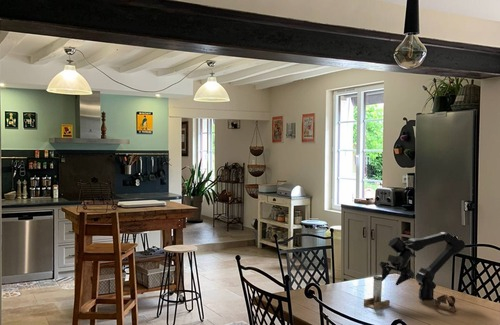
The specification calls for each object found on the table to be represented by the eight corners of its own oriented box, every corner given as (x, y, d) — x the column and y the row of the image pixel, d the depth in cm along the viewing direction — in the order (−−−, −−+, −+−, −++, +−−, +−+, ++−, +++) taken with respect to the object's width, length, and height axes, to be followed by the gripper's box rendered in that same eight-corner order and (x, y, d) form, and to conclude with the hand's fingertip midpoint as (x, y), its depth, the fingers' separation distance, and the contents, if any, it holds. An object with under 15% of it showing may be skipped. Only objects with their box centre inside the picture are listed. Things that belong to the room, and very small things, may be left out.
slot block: (377, 302, 257) (377, 296, 257) (389, 306, 250) (389, 300, 250) (363, 305, 251) (363, 299, 251) (375, 309, 244) (376, 303, 244)
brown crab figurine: (451, 315, 240) (442, 299, 241) (436, 318, 247) (427, 303, 249) (464, 304, 247) (455, 289, 249) (449, 308, 254) (440, 293, 256)
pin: (381, 303, 252) (382, 276, 252) (381, 306, 248) (382, 278, 247) (372, 302, 253) (373, 275, 252) (372, 305, 249) (373, 278, 248)
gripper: (382, 245, 265) (367, 269, 259) (411, 252, 250) (396, 277, 244) (391, 258, 270) (377, 281, 264) (420, 266, 255) (406, 291, 249)
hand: (388, 282), depth 255 cm, fingers open, 9 cm apart
